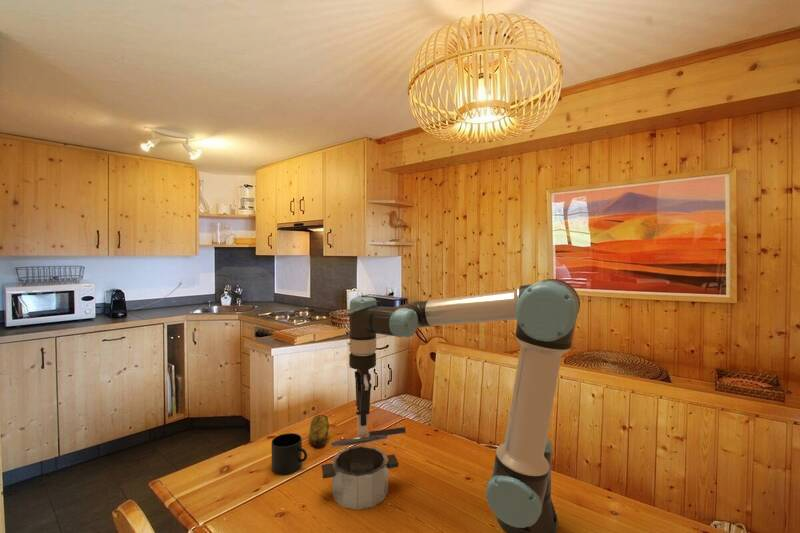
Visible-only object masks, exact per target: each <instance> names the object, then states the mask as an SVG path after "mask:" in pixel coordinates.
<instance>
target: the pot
mask: <svg viewBox="0 0 800 533" xmlns="http://www.w3.org/2000/svg"><path fill="white" fill-rule="evenodd" d="M394 468H399V461H398V459H397V457H396V455H395V454H386V452H385V451H384V450H382V449H380V448H378V447H377V446H371V445H366V444H360V445H352V446H346V447H344V449H342V450H340V451H338V452H337V453H336V454H335V455H334V457H333V458H332V459H331V463H326V464H325V463H324V464H321V473H322V479H331V491H332V499H333V501H334V502H335V503H337V504H338V505H339V506H341V507H342V508H345V509H349V510H357V511H358V510H365V509H370V508H371V509H372V508H374V507H375V506H377V505H378V504H380V503H382V502H383V501H385V499H386V497H387V494H388V492H389V469H394Z"/></svg>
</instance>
